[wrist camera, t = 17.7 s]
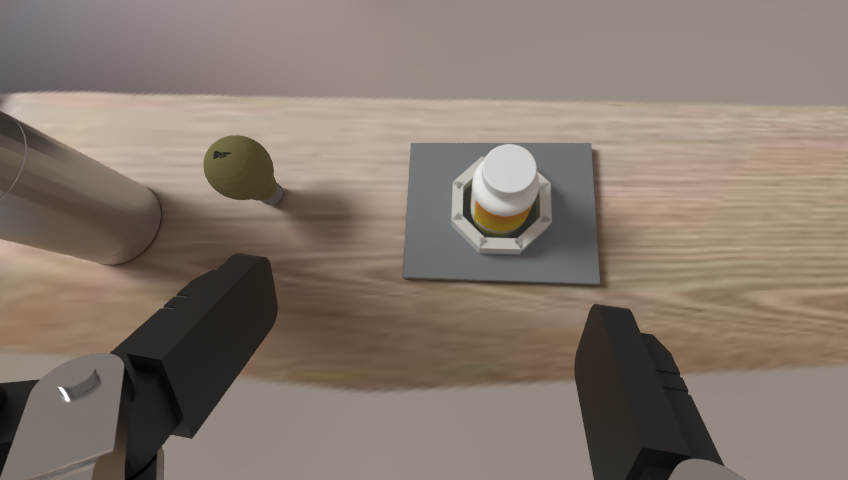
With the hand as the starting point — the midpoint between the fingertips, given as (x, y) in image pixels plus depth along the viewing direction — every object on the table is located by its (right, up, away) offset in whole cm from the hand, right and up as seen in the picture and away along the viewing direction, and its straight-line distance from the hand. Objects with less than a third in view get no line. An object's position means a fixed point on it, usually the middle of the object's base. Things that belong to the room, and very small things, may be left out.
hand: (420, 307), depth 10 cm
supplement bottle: (+7, +4, +29) cm, 31 cm away
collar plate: (+7, +4, +30) cm, 32 cm away
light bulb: (-16, +6, +33) cm, 37 cm away
